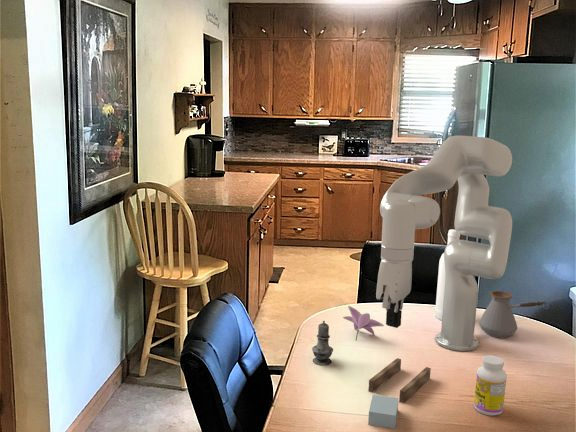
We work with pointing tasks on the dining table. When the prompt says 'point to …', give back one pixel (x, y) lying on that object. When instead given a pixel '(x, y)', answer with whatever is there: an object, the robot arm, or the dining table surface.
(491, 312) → the coffee pot
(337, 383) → the dining table surface
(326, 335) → the salt shaker
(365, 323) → the lily
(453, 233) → the bottle
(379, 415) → the slate block
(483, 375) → the supplement bottle
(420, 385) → the walnut chute
